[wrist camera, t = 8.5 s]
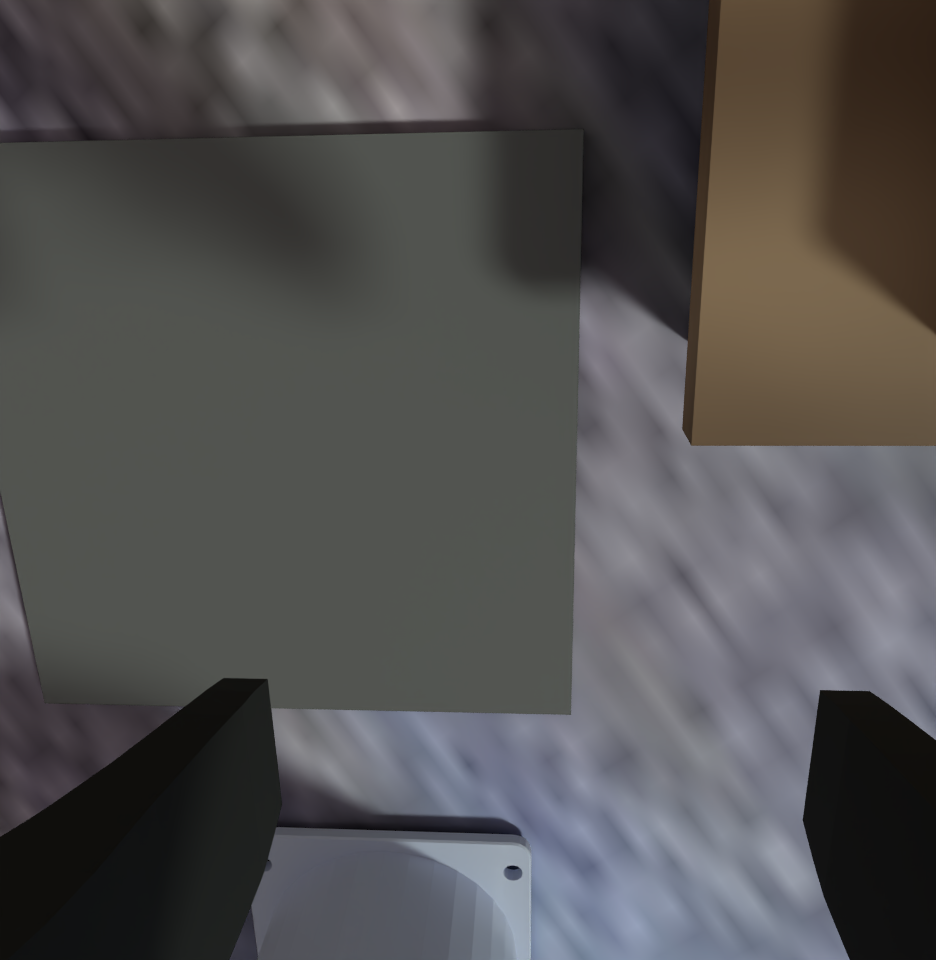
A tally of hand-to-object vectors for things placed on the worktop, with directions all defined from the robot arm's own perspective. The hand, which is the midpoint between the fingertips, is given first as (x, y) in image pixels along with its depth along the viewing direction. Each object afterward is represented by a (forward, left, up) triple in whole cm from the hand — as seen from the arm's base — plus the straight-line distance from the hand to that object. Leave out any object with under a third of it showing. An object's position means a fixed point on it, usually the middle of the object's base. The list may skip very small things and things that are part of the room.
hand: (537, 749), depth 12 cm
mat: (+1, +6, -10) cm, 12 cm away
